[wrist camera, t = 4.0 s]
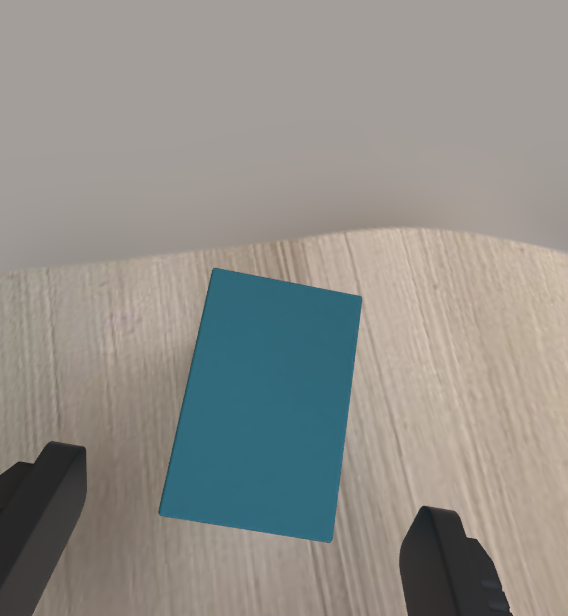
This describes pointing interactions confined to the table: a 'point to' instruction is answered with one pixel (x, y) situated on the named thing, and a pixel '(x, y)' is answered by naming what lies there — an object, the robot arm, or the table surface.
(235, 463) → the teal rectangular block
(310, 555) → the table surface
